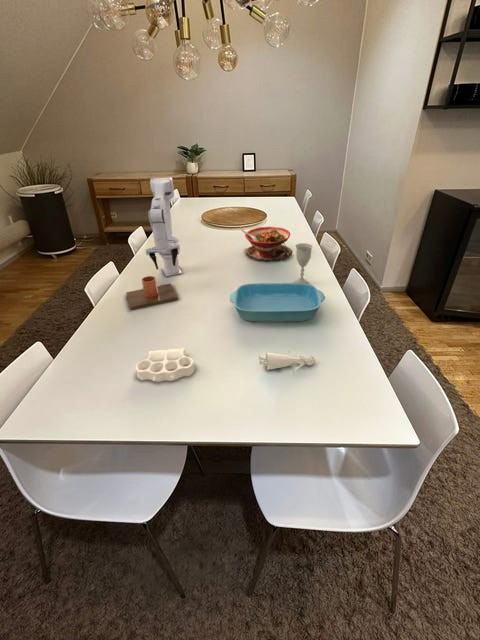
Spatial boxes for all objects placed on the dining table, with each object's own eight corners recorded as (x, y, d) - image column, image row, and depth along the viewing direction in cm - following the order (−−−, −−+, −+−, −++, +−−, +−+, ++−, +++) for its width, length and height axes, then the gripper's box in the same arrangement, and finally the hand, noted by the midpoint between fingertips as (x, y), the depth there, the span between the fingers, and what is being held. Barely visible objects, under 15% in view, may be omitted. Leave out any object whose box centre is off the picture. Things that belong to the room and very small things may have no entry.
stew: (233, 260, 182) (231, 230, 174) (249, 244, 201) (248, 217, 192) (284, 267, 173) (285, 236, 164) (296, 249, 191) (297, 221, 183)
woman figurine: (257, 343, 113) (312, 343, 114) (256, 354, 115) (310, 354, 116) (261, 367, 103) (320, 367, 104) (260, 378, 105) (318, 378, 106)
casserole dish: (227, 325, 130) (226, 309, 126) (232, 297, 149) (231, 282, 145) (326, 326, 128) (328, 310, 124) (319, 297, 146) (320, 282, 142)
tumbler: (143, 293, 152) (140, 277, 148) (156, 290, 153) (154, 275, 149) (146, 298, 147) (142, 283, 143) (159, 296, 149) (156, 280, 145)
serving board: (126, 295, 154) (126, 292, 153) (171, 286, 160) (170, 283, 159) (130, 310, 143) (130, 306, 142) (178, 299, 149) (177, 296, 148)
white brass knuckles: (195, 352, 117) (194, 382, 105) (141, 356, 116) (134, 387, 104) (194, 344, 115) (192, 374, 103) (139, 348, 114) (132, 379, 102)
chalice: (311, 282, 158) (314, 244, 148) (307, 288, 153) (310, 250, 143) (295, 279, 161) (298, 242, 151) (291, 285, 156) (293, 247, 146)
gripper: (145, 243, 141) (150, 273, 149) (179, 237, 145) (183, 267, 153) (142, 237, 147) (148, 267, 154) (175, 232, 151) (179, 261, 158)
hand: (165, 266), depth 154 cm, fingers open, 7 cm apart
